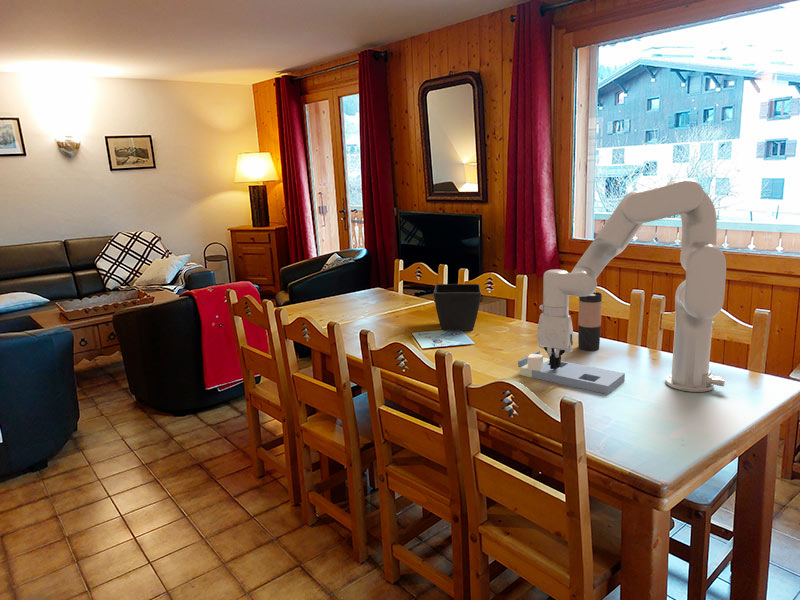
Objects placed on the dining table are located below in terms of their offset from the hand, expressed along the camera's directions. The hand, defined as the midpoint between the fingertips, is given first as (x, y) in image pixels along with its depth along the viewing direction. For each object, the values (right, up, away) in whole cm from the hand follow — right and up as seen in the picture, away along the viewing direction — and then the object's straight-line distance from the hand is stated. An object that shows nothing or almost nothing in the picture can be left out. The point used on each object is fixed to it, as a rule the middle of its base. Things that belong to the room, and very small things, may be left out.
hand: (554, 368), depth 176 cm
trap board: (+5, -3, 0) cm, 6 cm away
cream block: (-6, 0, +2) cm, 6 cm away
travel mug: (+20, +4, +28) cm, 35 cm away
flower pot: (-24, +10, +63) cm, 68 cm away
